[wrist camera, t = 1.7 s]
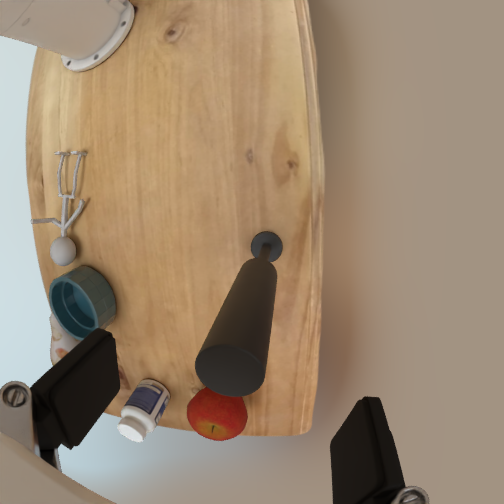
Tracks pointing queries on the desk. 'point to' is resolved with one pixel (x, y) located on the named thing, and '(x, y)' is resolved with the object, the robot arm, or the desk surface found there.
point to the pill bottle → (143, 410)
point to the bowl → (82, 301)
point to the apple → (216, 415)
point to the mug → (60, 341)
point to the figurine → (64, 218)
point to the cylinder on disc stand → (243, 325)
